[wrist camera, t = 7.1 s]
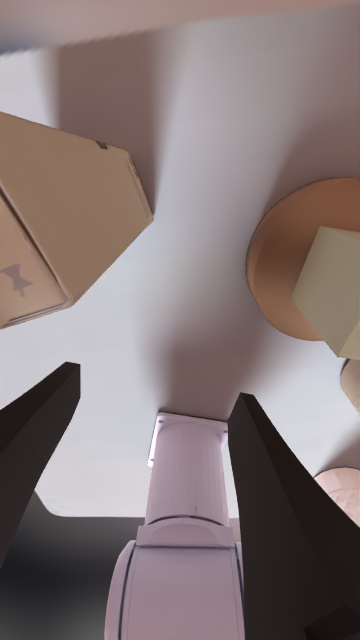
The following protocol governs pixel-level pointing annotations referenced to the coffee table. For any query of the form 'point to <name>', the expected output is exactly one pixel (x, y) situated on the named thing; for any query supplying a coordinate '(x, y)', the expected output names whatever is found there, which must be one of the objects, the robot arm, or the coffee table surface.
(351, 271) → the block
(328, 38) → the coffee table surface
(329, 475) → the white cup
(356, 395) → the travel mug
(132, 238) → the box
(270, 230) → the coaster stand
